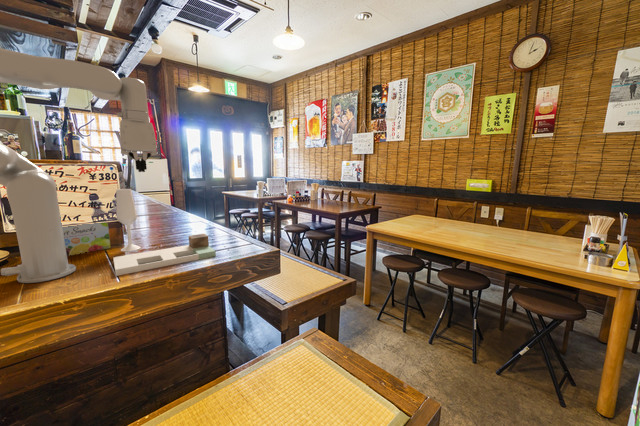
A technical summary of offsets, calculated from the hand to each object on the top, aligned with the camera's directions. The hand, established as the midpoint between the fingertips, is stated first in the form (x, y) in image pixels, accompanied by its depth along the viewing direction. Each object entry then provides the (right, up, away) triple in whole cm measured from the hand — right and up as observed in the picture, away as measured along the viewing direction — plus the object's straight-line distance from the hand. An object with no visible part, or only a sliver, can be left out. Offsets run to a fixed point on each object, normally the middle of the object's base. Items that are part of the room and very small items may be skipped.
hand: (141, 171), depth 94 cm
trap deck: (+8, -31, +1) cm, 32 cm away
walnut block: (+15, -28, +11) cm, 34 cm away
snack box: (-30, -30, +7) cm, 43 cm away
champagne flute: (-13, -29, +13) cm, 35 cm away
